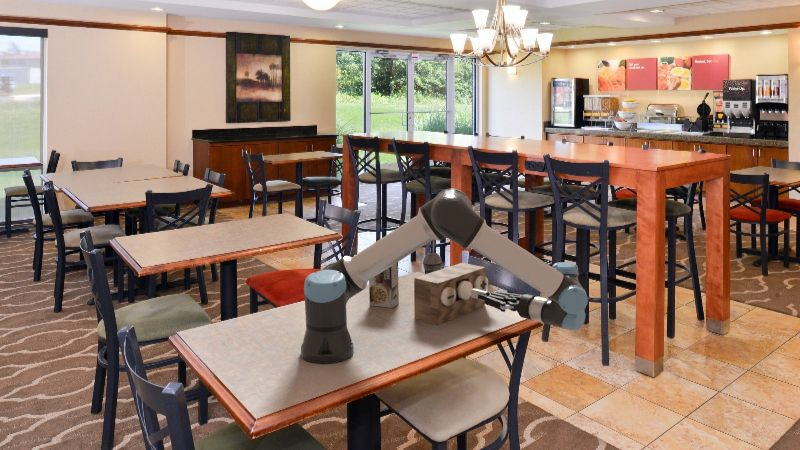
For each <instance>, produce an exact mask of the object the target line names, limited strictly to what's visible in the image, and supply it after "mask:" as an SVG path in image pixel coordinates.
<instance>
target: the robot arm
mask: <svg viewBox="0 0 800 450" xmlns="http://www.w3.org/2000/svg"><path fill="white" fill-rule="evenodd" d="M446 238H447V239H448V240H450V241H452V242H454V243H456V244H457V245H459V246H460V247H462V248H463V249H465V250H468V249H472V250H473V251H475V252H477V253H478V254H480V255H481V256H483V257H484V258H486V259H487V260H489V261H491V262H492V263H495V264H496V265H497V266H499V267H500V268H501V269H503V270H505V271H507V272H508V273H510V274H511V275H513V276H514V277H516V278H517V279H519V280H521V281H522V282H524V283H526V284H527V285H529V286H530V287H532V288H534V290H536V291H538V292H540V293H541V294H543V296H546V297H542V296H537V295H534V294H530V293H525V294H518V293H512V292H504V291H498V290H496V291H495V292H493V291H492V292H490V291H487V290H486V291H483V290H478V289H471V297H472V298H476V299H480V300H484V301H485V305H487V306H489V307H492V308H495V309H496V310H499V311H501V312H503V313H505V312H506V311H507V310H510V311H512V312H517V313H518V315H519V317H520V318H522V319H525V320H526V319H527V320H530V321H531V320H532V321H535V322H538V323H540V324H541V325H544V324H545V325H546V324H547V325H549V326H553V327H556V328H561V329H563V330H569V331H579V330H580V329H581V328H582V327H583V325H584V323H585V321H586V312H585V309H586V307H587V305H588V300H589V299H588V295H587V291H586V289H585V288H583V286H582V285H581V282H580V281H579V267H578V265H577V264H575V263H573V262H568V261H565V262H563V261H562V262H561V261H560V262H556V263H554V264H552V266H551V265H549V263H546V262H545V261H543V260H541V259H540V258H538V257H537V256H535V255H534V254H532V253H531V252H529V251H528V250H526V249H524V248H523V247H521V246H520V245H518V244H517V243H516V242H514V241H512V240H511V239H509V238H508V237H506V236H504V235H503V234H502V233H500V232H498V231H497V230H495V229H493V228H492V227H491V226H488V224H487V222H486V219H485V218H483V217H482V216H480V215H479V214H478V213H477V212H476V211H474V209H473V202H472V201H471V200H470V198H469V197H468V195H467V194H466V193H465V192H463V191H462V190H459V189H456V188H447V189H444V190H441V191H440V192H438V193H437V195H435V197H433V199H431V200H429V201H428V202H426V203H425V204H422V206H420V207H419V208H418V212H417V215H416V216H414V217H412V218H411V219H409V220H407V221H406V222H405V223H403V224H402V225H400V226H399V227H397V228H395V229H394V230H392V231H391V232H389V233H388V234H386V235H385V236H383V237H382V238H380V239H378V240H377V241H375V242H374V243H372V244H370V245H369V246H368V247H366V248H365V249H363V250H362V251H360V252H358V253H357V254H355V255H354V256H349V255H344V256H343V257H341V258H339V260H337V261H335V262H331V263H329V264H327V265H326V266H324V268H322V269H321V270H317V271H315V272H311V273H310V274H308V275H306V277H305V280H304V284H303V285H304V286H303V293H304V309H305V310H304V311H305V332H304V336H303V341H302V343H301V346H300V355H301V356H300V357H301V358H302V359H303V360H305V361H307V362H309V363H314V364H333V363H334V364H335V363H339V362H344V361H346V360H347V359H349V358H351V357H352V356H353V355H354V353H355V352H354V351H355V350H354V349H355V348H354V343H353V341H352V337H351V335H350V332H349V330H348V321H347V316H348V315H347V304H348V301H349V300H350V299H351V298H353V297H354V296H356V295H358V294H359V293H361V292H362V291H364V290H366V289H367V285H368V283H369V280H370V279H372V278H373V277H375V276H377V275H378V274H380V273H381V272H383V271H384V270H386V269H388V268H389V267H391V266H392V265H394V264H395V263H397V262H398V263H399V262H400V261H401V260H403V259H405V258H407V257H408V256H409V255H411V254H413V253H414V252H416V251H418V250H419V249H421V248H422V247H424V246H425V245H427V244H429V243H430V242H433V240H434V241H439V242H441V241H443V240H444V239H446Z"/></svg>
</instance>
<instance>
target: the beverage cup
mask: <svg viewBox="0 0 800 450" xmlns="http://www.w3.org/2000/svg"><path fill="white" fill-rule="evenodd" d="M422 260H423V262H422V264H423V268H424V275H425V274H428V273H431V272H434V271H438V270H441V269H442V267H443V265H442V264H443V261H442V257H441V256H440V254H438V252H435V240H432V251H430V252H427V253H426V254H425V255H424V257H423V259H422Z"/></svg>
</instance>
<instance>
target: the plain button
mask: <svg viewBox="0 0 800 450" xmlns="http://www.w3.org/2000/svg"><path fill="white" fill-rule="evenodd" d="M471 289H473V287H472V284H471V283H470V282H468V281H461V282H460V283H459V285H458V287H457V295H458V297H459V298H461V299H465V300H466V299H468V298H469V297H470V296H471Z"/></svg>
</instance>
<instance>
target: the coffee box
mask: <svg viewBox="0 0 800 450" xmlns="http://www.w3.org/2000/svg"><path fill="white" fill-rule="evenodd" d="M368 286H369V287H368V288H369V289H368V291H369V295H368V296H369V306H372V307H379V308H380V307H381V308H388V309H389V308H390V309H391V308H394V307H395V306H397V305H398V304H399V303H400V301H399V300H400V297H399V262H397V263H395V264H394V265H392V266H391V267H389V268H388V269H386V270H384V271H383V272H381V273H380V274H378V275H377V276H375V277H373V278H372V279H370V280H369V281H368Z"/></svg>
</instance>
